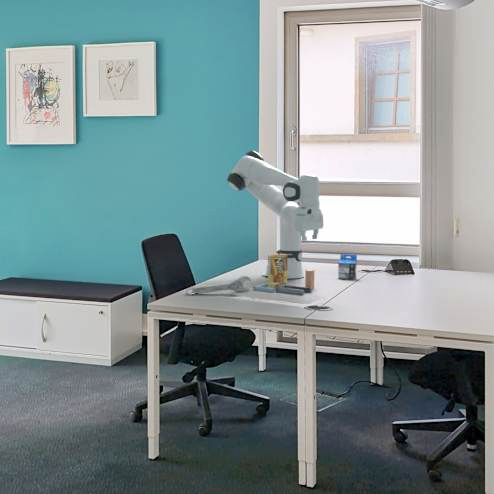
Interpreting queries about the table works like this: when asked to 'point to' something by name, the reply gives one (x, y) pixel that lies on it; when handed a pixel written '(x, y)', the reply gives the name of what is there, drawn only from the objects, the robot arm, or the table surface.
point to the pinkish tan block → (309, 278)
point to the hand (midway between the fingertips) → (309, 239)
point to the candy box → (277, 268)
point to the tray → (263, 288)
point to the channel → (294, 290)
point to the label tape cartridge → (347, 266)
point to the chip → (273, 285)
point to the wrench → (223, 286)
